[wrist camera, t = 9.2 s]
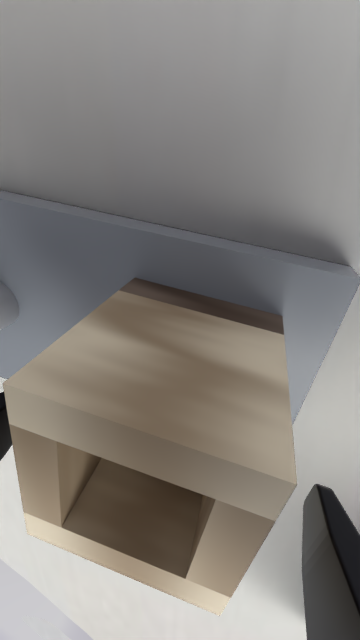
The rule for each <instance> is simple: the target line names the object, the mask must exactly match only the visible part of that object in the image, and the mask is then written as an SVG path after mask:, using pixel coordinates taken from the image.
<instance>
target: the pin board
mask: <svg viewBox="0 0 360 640" xmlns="http://www.w3.org/2000/svg"><path fill="white" fill-rule="evenodd" d="M133 278H139V279H143V280H146V281H150V282H154V283H158V284H162V285H166V286H169V287H173V288H177V289H181V290H185V291H189V292H192V293H196V294H200V295H204V296H208V297H212V298H215V299H219V300H223V301H227V302H231V303H235V304H238V305H242V306H246V307H250V308H254V309H258V310H261V311H265V312H269V313H273V314H277V315H281V316H283V327H284V338H285V350H286V361H287V373H288V385H289V396H290V408H291V419H292V425H293V423H294V420H295V418H296V416H297V414H298V412H299V410H300V408H301V406H302V404H303V402H304V400H305V397H306V395H307V393H308V391H309V389H310V387H311V385H312V383H313V381H314V379H315V377H316V374H317V372H318V370H319V368H320V366H321V364H322V362H323V360H324V358H325V356H326V353H327V351H328V349H329V347H330V345H331V343H332V341H333V339H334V337H335V335H336V333H337V330H338V328H339V326H340V324H341V322H342V320H343V318H344V316H345V314H346V312H347V310H348V307H349V305H350V303H351V301H352V299H353V297H354V295H355V293H356V291H357V289H358V286H359V284H360V276H359V275H358V274H357V273H356V272H355V270H354V269H353V268H352V267H351V266H346V265H341V264H337V263H332V262H328V261H323V260H318V259H314V258H309V257H305V256H300V255H296V254H291V253H286V252H282V251H277V250H273V249H268V248H263V247H259V246H254V245H250V244H245V243H240V242H236V241H231V240H227V239H222V238H218V237H213V236H208V235H204V234H199V233H195V232H190V231H185V230H181V229H176V228H172V227H167V226H162V225H158V224H153V223H149V222H144V221H140V220H135V219H130V218H126V217H121V216H117V215H112V214H107V213H103V212H98V211H94V210H89V209H85V208H80V207H75V206H71V205H66V204H62V203H57V202H52V201H48V200H43V199H39V198H34V197H29V196H25V195H20V194H16V193H11V192H7V191H2V190H0V377H2V378H5V379H9V378H10V377H11V376H13V375H14V374H15V373H16V372H18V371H19V370H20V369H21V368H23V367H24V366H25V365H26V364H27V363H29V362H30V361H31V360H32V359H34V358H35V357H36V356H37V355H39V354H40V353H41V352H42V351H44V350H45V349H46V348H47V347H49V346H50V345H51V344H52V343H54V342H55V341H56V340H57V339H59V338H60V337H61V336H62V335H64V334H65V333H66V332H67V331H69V330H70V329H71V328H72V327H74V326H75V325H76V324H77V323H79V322H80V321H81V320H82V319H84V318H85V317H86V316H87V315H89V314H90V313H91V312H92V311H94V310H95V309H96V308H97V307H98V306H100V305H101V304H102V303H103V302H105V301H106V300H107V299H108V298H110V297H111V296H112V295H113V294H115V293H116V292H117V291H118V290H120V289H121V288H122V287H123V286H125V285H126V284H127V283H128V282H130V281H131V280H132V279H133Z"/></svg>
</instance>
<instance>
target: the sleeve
mask: <svg viewBox="0 0 360 640" xmlns="http://www.w3.org/2000/svg"><path fill="white" fill-rule="evenodd" d="M3 389H4V395H5V401H6V407H7V413H8V419H9V426H10V432H11V438H12V444H13V450H14V456H15V462H16V469H17V475H18V481H19V487H20V493H21V499H22V505H23V512H24V518H25V524H26V530H27V534H28V535H31V536H33V537H35V538H38V539H40V540H42V541H45V542H47V543H50V544H52V545H54V546H57V547H59V548H61V549H64V550H66V551H68V552H71V553H73V554H75V555H78V556H80V557H82V558H85V559H87V560H89V561H92V562H94V563H96V564H99V565H101V566H104V567H106V568H108V569H111V570H113V571H115V572H118V573H120V574H122V575H125V576H127V577H129V578H132V579H134V580H136V581H139V582H141V583H143V584H146V585H148V586H150V587H153V588H155V589H158V590H160V591H162V592H165V593H167V594H169V595H172V596H174V597H176V598H179V599H181V600H183V601H186V602H188V603H190V604H193V605H195V606H197V607H200V608H202V609H204V610H207V611H209V612H212V613H214V614H216V615H219V616H220V615H221V614H222V612H223V610H224V609H225V607H226V605H227V603H228V602H229V600H230V598H231V597H232V595H233V593H234V591H235V590H236V588H237V586H238V585H239V583H240V581H241V580H242V578H243V576H244V574H245V573H246V571H247V569H248V568H249V566H250V564H251V562H252V561H253V559H254V557H255V556H256V554H257V552H258V550H259V549H260V547H261V545H262V544H263V542H264V540H265V539H266V537H267V535H268V533H269V532H270V530H271V528H272V527H273V525H274V523H275V521H276V520H277V518H278V516H279V515H280V513H281V511H282V510H283V508H284V506H285V504H286V503H287V501H288V499H289V498H290V496H291V494H292V492H293V491H294V489H295V487H296V486H297V477H296V466H295V454H294V443H293V431H292V419H291V408H290V396H289V385H288V373H287V361H286V350H285V338H284V327H283V316H281V315H277V314H273V313H269V312H265V311H261V310H258V309H254V308H250V307H246V306H242V305H238V304H235V303H231V302H227V301H223V300H219V299H215V298H212V297H208V296H204V295H200V294H196V293H192V292H189V291H185V290H181V289H177V288H173V287H169V286H166V285H162V284H158V283H154V282H150V281H146V280H143V279H139V278H133V279H132V280H131V281H130V282H128V283H127V284H126V285H125V286H123V287H122V288H121V289H120V290H118V291H117V292H116V293H115V294H113V295H112V296H111V297H110V298H108V299H107V300H106V301H105V302H103V303H102V304H101V305H100V306H98V307H97V308H96V309H95V310H94V311H92V312H91V313H90V314H89V315H87V316H86V317H85V318H84V319H82V320H81V321H80V322H79V323H77V324H76V325H75V326H74V327H72V328H71V329H70V330H69V331H67V332H66V333H65V334H64V335H62V336H61V337H60V338H59V339H57V340H56V341H55V342H54V343H52V344H51V345H50V346H49V347H47V348H46V349H45V350H44V351H42V352H41V353H40V354H39V355H37V356H36V357H35V358H34V359H32V360H31V361H30V362H29V363H27V364H26V365H25V366H24V367H23V368H21V369H20V370H19V371H18V372H16V373H15V374H14V375H13V376H11V377H10V378H9V379H8V380H6V381H5V382H4V383H3Z"/></svg>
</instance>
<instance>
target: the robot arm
mask: <svg viewBox="0 0 360 640" xmlns="http://www.w3.org/2000/svg"><path fill="white" fill-rule="evenodd" d="M11 446H12V438H11V432H10V426H9V419H8V413H7V407H6V401H5V395H4V392H2V393H0V461H1V459H2V458H3V457H4V455H5V454H6V453H7V451H8V450H9V449H10V447H11ZM302 580H303V593H304V606H305V619H306V632H307V640H360V534H359V533H358V531H357V529H356V528H355V526H354V525H353V523H352V521H351V520H350V518H349V516H348V515H347V513H346V511H345V510H344V508H343V507H342V505H341V503H340V502H339V500H338V498H337V497H336V495H335V493H334V492H333V491H332V489H330V488H328V487H325V486H323V485H320V484H315V485H314V486H313V488H312V489H311V491H310V493H309V494H308V496H307V498H306V499H305V502H304V506H303V538H302Z"/></svg>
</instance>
